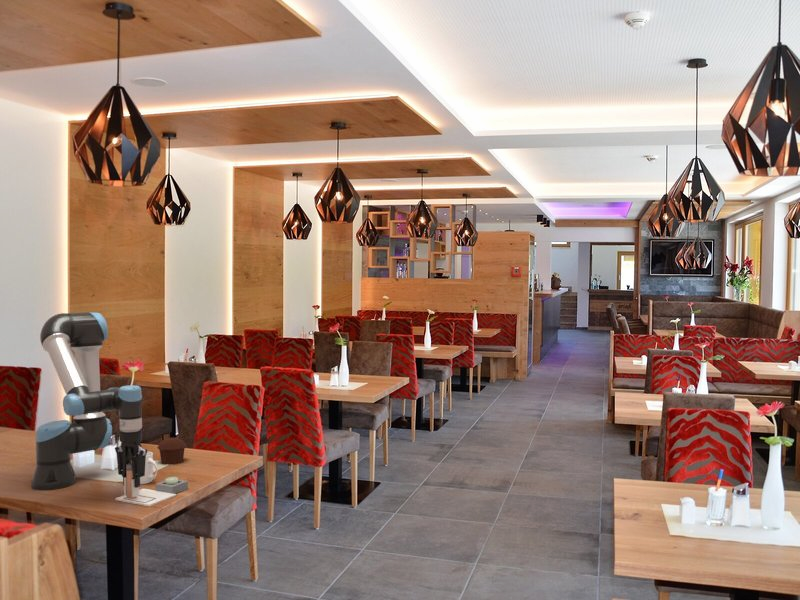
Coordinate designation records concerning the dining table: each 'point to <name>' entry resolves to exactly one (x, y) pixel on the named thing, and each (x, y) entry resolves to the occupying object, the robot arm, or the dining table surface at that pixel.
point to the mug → (148, 469)
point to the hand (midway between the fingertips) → (131, 495)
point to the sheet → (147, 497)
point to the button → (171, 480)
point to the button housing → (172, 487)
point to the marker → (129, 480)
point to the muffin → (172, 450)
